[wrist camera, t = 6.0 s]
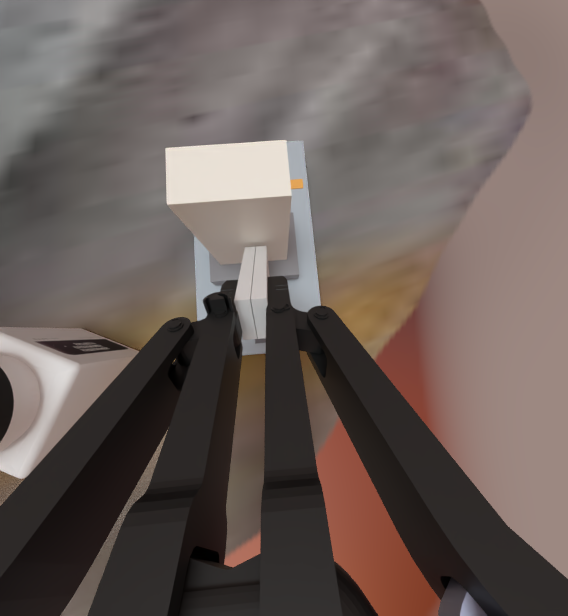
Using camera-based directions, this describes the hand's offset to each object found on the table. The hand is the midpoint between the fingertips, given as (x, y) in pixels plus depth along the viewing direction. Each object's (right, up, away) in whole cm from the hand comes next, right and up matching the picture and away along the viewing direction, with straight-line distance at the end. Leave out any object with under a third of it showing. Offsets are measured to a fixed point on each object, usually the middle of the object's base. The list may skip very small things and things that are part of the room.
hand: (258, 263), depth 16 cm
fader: (-1, +2, +5) cm, 5 cm away
